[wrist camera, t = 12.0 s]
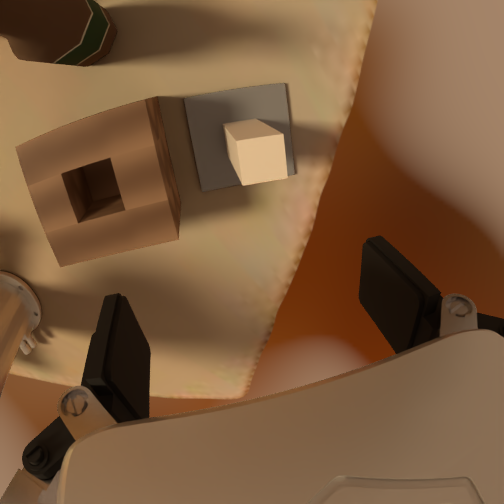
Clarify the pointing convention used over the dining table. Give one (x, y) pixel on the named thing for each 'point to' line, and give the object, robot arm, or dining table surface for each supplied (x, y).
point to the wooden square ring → (104, 183)
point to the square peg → (255, 151)
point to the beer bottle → (57, 30)
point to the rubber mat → (226, 111)
